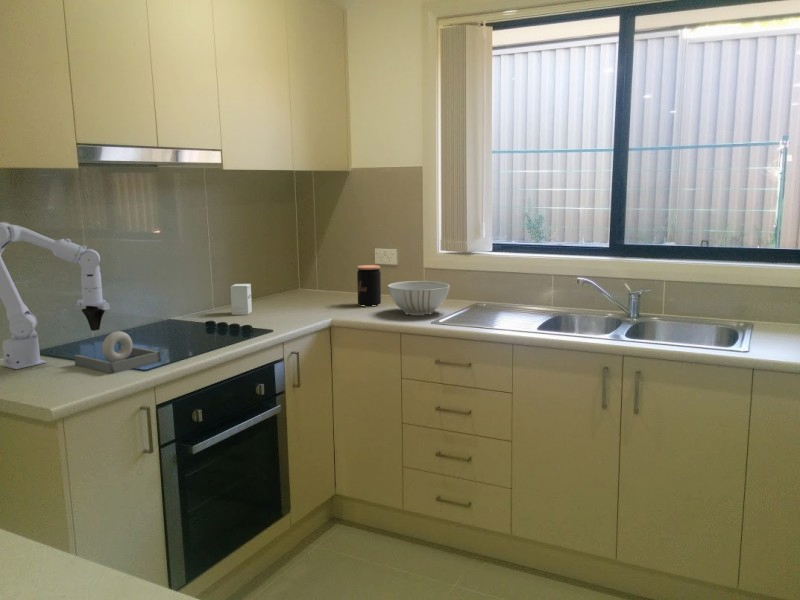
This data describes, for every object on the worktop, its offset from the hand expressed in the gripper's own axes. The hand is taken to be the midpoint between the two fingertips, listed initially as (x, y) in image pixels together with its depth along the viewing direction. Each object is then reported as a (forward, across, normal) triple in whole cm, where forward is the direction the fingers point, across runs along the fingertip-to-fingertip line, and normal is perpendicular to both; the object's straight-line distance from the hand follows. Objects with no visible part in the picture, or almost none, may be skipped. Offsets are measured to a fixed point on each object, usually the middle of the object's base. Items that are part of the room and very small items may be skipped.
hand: (95, 330), depth 213 cm
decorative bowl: (+9, -46, -121) cm, 130 cm away
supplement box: (+9, +19, -80) cm, 83 cm away
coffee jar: (+9, -16, -126) cm, 127 cm away
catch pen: (+9, -11, 0) cm, 14 cm away
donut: (+9, -11, 0) cm, 14 cm away
